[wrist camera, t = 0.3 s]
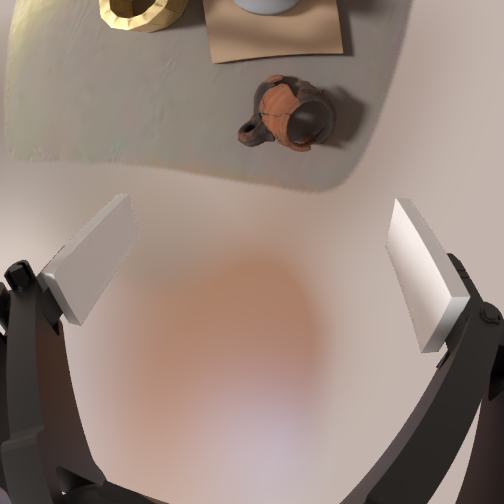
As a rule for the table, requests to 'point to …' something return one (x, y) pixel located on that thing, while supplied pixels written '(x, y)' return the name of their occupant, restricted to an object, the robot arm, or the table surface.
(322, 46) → the stand
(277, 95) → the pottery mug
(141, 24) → the brass ring
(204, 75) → the table surface
